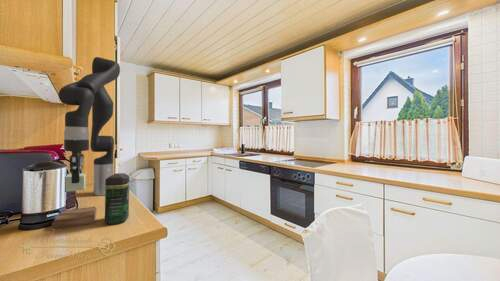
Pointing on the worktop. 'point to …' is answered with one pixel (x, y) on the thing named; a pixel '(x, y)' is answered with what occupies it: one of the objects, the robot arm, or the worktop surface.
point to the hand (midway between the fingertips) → (76, 181)
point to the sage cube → (75, 186)
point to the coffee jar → (116, 198)
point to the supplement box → (71, 200)
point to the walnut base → (75, 217)
